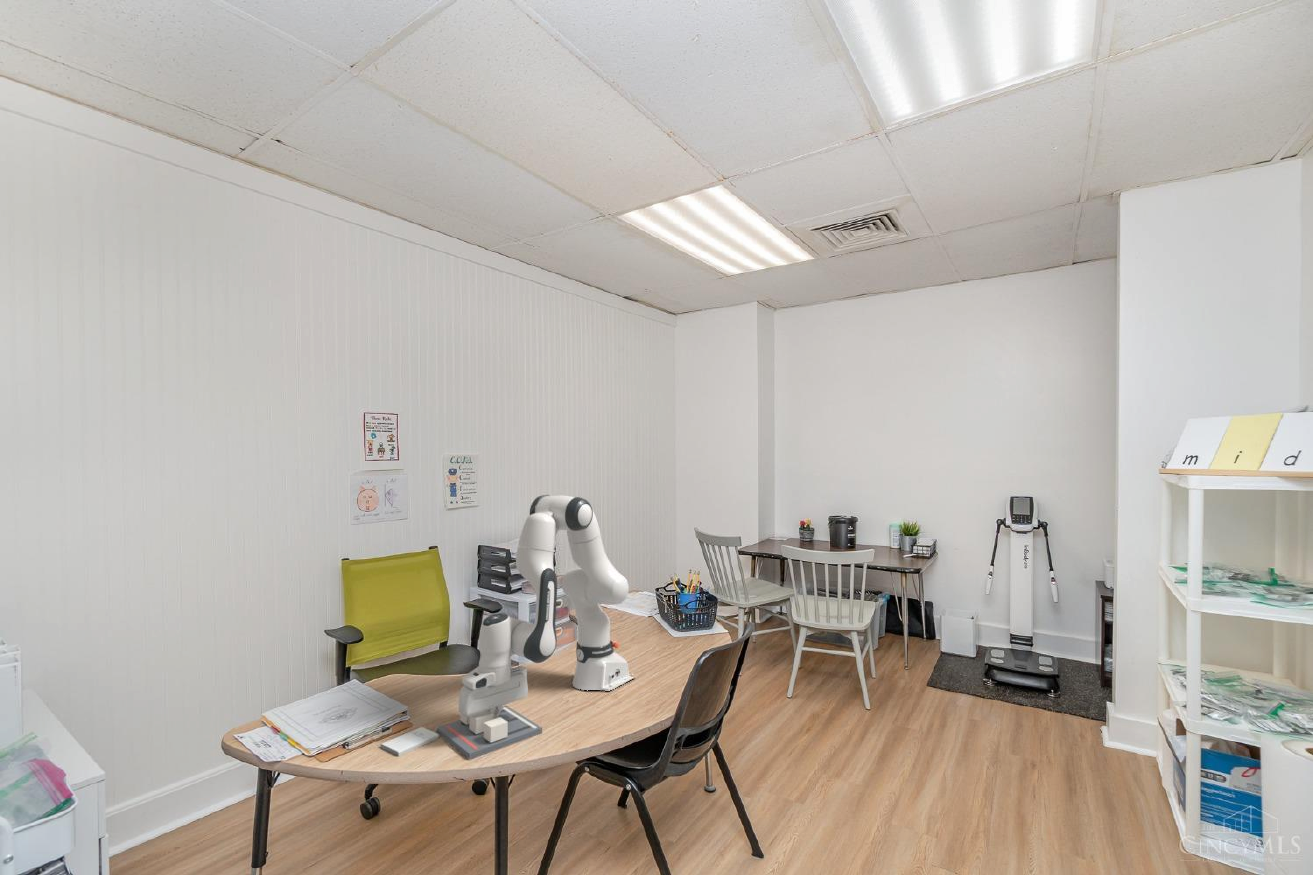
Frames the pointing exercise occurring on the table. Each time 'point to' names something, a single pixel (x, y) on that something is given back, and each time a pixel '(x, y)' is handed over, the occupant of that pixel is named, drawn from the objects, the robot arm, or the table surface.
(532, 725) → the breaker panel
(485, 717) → the block
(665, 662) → the table surface
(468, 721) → the block
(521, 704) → the table surface
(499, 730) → the block
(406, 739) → the external hard drive
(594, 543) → the robot arm
